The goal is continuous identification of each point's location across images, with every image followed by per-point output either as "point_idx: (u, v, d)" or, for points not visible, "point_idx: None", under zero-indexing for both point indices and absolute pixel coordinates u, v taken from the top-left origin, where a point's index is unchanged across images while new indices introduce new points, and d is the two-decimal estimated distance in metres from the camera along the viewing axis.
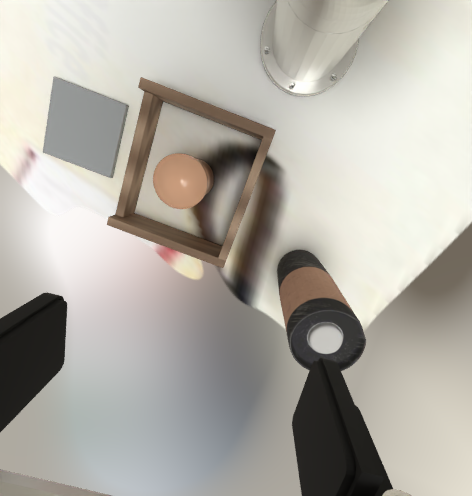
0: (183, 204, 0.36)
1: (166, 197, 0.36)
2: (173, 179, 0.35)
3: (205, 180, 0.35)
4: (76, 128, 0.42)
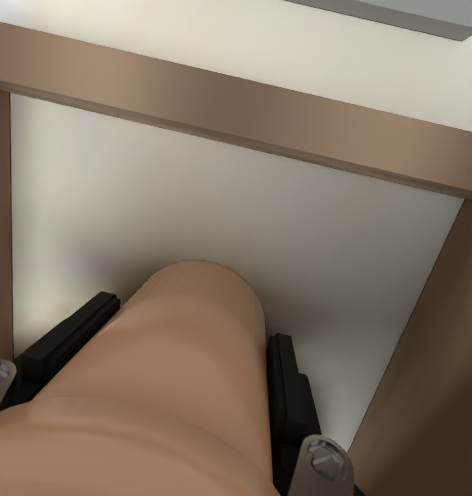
0: None
1: None
2: None
3: None
4: None
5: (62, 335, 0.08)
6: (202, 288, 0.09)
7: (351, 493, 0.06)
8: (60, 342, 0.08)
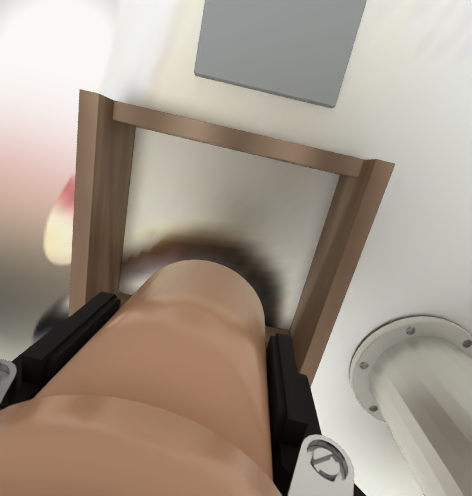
0: None
1: None
2: None
3: None
4: None
5: (62, 335, 0.08)
6: (202, 287, 0.09)
7: (351, 492, 0.06)
8: (60, 342, 0.08)
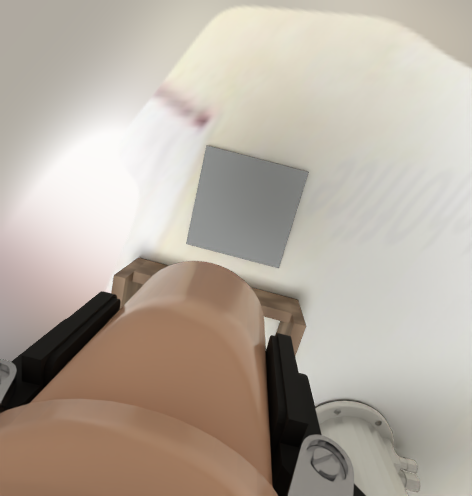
0: None
1: None
2: None
3: None
4: (243, 199, 0.30)
5: (62, 335, 0.08)
6: (201, 289, 0.09)
7: (350, 493, 0.06)
8: (60, 342, 0.08)
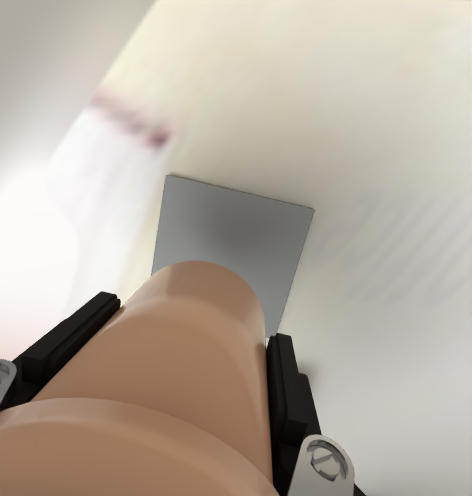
0: None
1: None
2: None
3: None
4: (222, 248, 0.21)
5: (62, 335, 0.08)
6: (202, 288, 0.09)
7: (350, 492, 0.06)
8: (61, 342, 0.08)
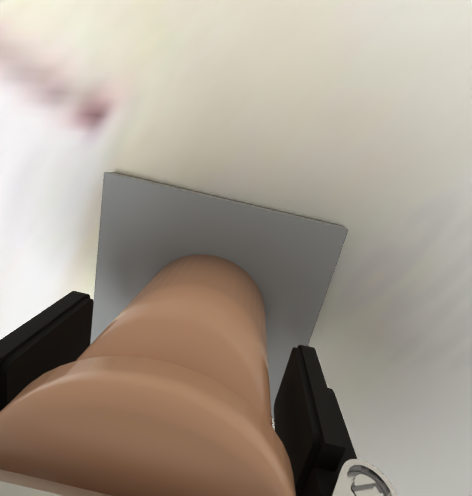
0: None
1: None
2: None
3: None
4: None
5: (22, 337, 0.07)
6: (209, 278, 0.10)
7: None
8: (19, 344, 0.07)
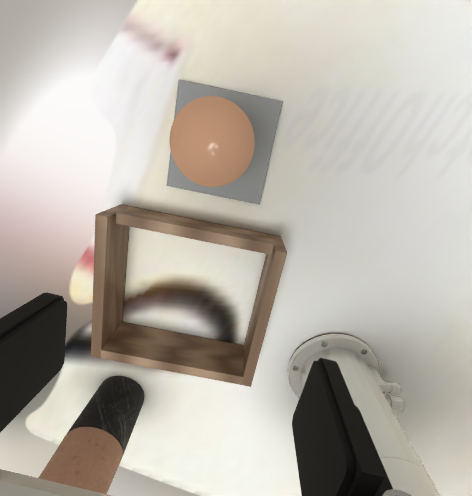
0: (178, 153, 0.23)
1: (183, 123, 0.22)
2: (214, 132, 0.22)
3: (221, 184, 0.23)
4: None
5: None
6: None
7: None
8: None
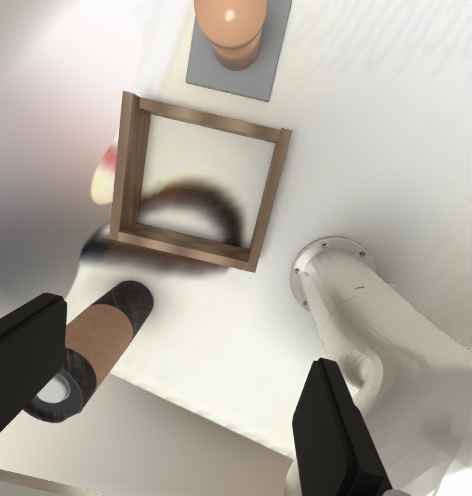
0: (201, 12, 0.26)
1: None
2: None
3: (237, 42, 0.27)
4: None
5: None
6: None
7: None
8: None
